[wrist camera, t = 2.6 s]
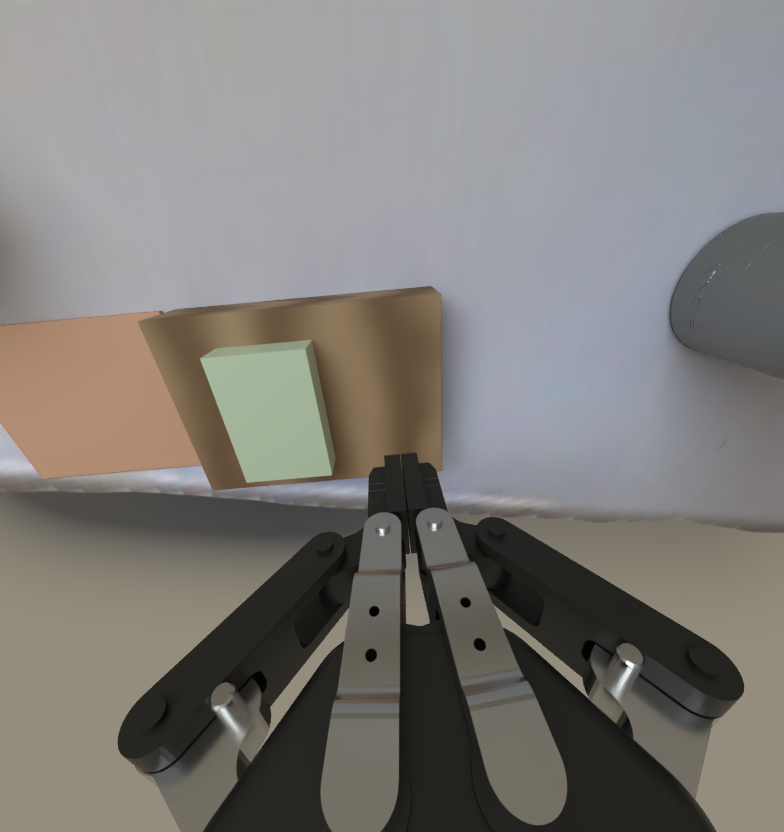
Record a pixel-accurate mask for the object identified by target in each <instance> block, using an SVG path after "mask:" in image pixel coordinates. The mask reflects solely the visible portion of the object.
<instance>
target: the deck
mask: <svg viewBox="0 0 784 832" xmlns="http://www.w3.org/2000/svg"><path fill="white" fill-rule="evenodd" d="M137 322H138V324H139V326H140V329H141V331H142V333H143V335H144V337H145V340H146V342H147V344H148V346H149V349H150V351H151V353H152V355H153V358H154V360H155V362H156V364H157V367H158V369H159V371H160V373H161V375H162V378H163V380H164V382H165V384H166V387H167V389H168V391H169V393H170V396H171V398H172V400H173V402H174V405H175V407H176V409H177V411H178V413H179V416H180V418H181V420H182V422H183V425H184V427H185V429H186V431H187V434H188V436H189V438H190V440H191V443H192V445H193V447H194V449H195V451H196V454H197V456H198V458H199V460H200V463H201V465H202V467H203V469H204V472H205V474H206V476H207V478H208V481H209V483H210V485H211V487H212V489H213V490H223V489H234V488H246V487H258V486H269V485H281V484H292V483H304V482H316V481H327V480H339V479H351V478H362V477H369V474H370V473H371V471H372V469H373V468H374V467H385V464H384V455H395V454H400V461H401V454H405V453H417V457H418V461H419V463H427V462H429V463H430V464H431V465H432V466H433V467H434V468H435V469H436V471H442V401H441V294H440V293H439V292H437V291H436V290H435V289H434V288H432V287H431V286H429V287H418V288H407V289H396V290H385V291H374V292H363V293H352V294H341V295H330V296H319V297H308V298H297V299H286V300H275V301H264V302H253V303H242V304H231V305H220V306H209V307H198V308H187V309H176V310H172V311H169V312H166V313H163V314H160V315H156V316H153V317H150V318H147V319H144V320H140V321H137ZM305 340H312V343H313V348H314V353H315V358H316V363H317V368H318V373H319V378H320V383H321V388H322V393H323V398H324V403H325V408H326V413H327V418H328V423H329V428H330V432H331V437H332V442H333V447H334V452H335V457H336V460H335V464H334V469H333V474H332V475H331V476H319V477H307V478H296V479H284V480H273V481H261V482H249V483H247V482H246V480H245V477H244V474H243V472H242V469H241V466H240V464H239V461H238V458H237V456H236V453H235V450H234V448H233V445H232V442H231V440H230V437H229V434H228V432H227V429H226V427H225V424H224V421H223V419H222V416H221V413H220V411H219V408H218V405H217V403H216V400H215V397H214V395H213V392H212V389H211V387H210V384H209V381H208V379H207V376H206V374H205V371H204V368H203V366H202V363H201V360H200V358H201V357H203V356H205V355H206V354H208V353H209V352H211V351H213V350H214V349H216V348H227V347H238V346H249V345H260V344H271V343H282V342H294V341H305ZM401 469H402V463H401Z"/></svg>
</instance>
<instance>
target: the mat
mask: <svg viewBox="0 0 784 832" xmlns="http://www.w3.org/2000/svg"><path fill="white" fill-rule="evenodd" d="M160 314H162V311H154V312H143V313H132V314H121V315H110V316H99V317H88V318H77V319H66V320H55V321H44V322H33V323H22V324H11V325H0V423H1V424H2V426H3V427H4V428H5V430H6V431H7V432H8V434H9V435H10V436H11V438H12V439H13V440H14V442H15V443H16V444H17V446H18V447H19V448H20V450H21V451H22V452H23V453H24V455H25V456H26V457H27V459H28V460H29V461H30V463H31V464H32V465H33V467H34V468H35V469H36V471H37V472H38V473H39V475H40V476H41V477H42V479H44V478H55V477H67V476H78V475H90V474H101V473H113V472H124V471H136V470H147V469H159V468H170V467H182V466H193V465H201V463H200V460H199V458H198V456H197V454H196V451H195V449H194V447H193V445H192V443H191V440H190V438H189V436H188V434H187V431H186V429H185V427H184V425H183V422H182V420H181V418H180V416H179V413H178V411H177V409H176V407H175V405H174V402H173V400H172V398H171V396H170V393H169V391H168V389H167V387H166V384H165V382H164V380H163V378H162V375H161V373H160V371H159V369H158V367H157V364H156V362H155V360H154V358H153V355H152V353H151V351H150V349H149V346H148V344H147V342H146V340H145V337H144V335H143V333H142V331H141V329H140V326H139V324H138V322H137V321H140V320H144V319H147V318H150V317H153V316H156V315H160Z"/></svg>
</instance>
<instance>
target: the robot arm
mask: <svg viewBox="0 0 784 832" xmlns="http://www.w3.org/2000/svg"><path fill="white" fill-rule="evenodd" d="M671 323H672V327H673V330H674V333H675V334H676V336H677V337H678V339H679V340H680V341H681V342H682V343H683V344H685V345H686V346H687V347H690V348H692V349H695V350H698V351H701V352H704V353H707V354H710V355H713V356H716V357H719V358H722V359H725V360H728V361H731V362H734V363H737V364H739V365H742V366H745V367H748V368H751V369H754V370H757V371H760V372H763V373H766V374H769V375H772V376H775V377H778V378H781V379H784V212H780V213H768V214H760V215H757V216H754V217H750V218H747V219H745V220H743V221H741V222H739V223H737V224H735V225H733V226H731V227H729V228H728V229H726V230H725V231H723V232H722V233H721V234H719V235H718V236H716V237H715V238H714V239H713V240H712V241H710V242H709V243H708V244H707V245H706V246H705V247H704V248H703V249H702V250H701V251H700V252H699V253H698V255H697V256H696V257H695V258H694V259H693V261H692V262H691V263H690V264H689V266H688V267H687V269H686V271H685V272H684V274H683V276H682V277H681V279H680V281H679V283H678V286H677V288H676V291H675V293H674V297H673V301H672V306H671ZM401 463H402V469H401ZM384 464H385V467H374V468H373V469H372V471H371V473H370V474H369V492H368V520H367V521H366V523H365V525H364V527H363V528H362V529H361V530H360V531H358V532H357V533H355V534H352V535H350V536H347V537H344V538H343V537H342V536H341V535H339V534H338V533H335V532H324V533H321V534H319V535H317V536H315V537H314V538H312V539H311V540H310V541H309V542H308V543H307V544H306V545H305V546H304V547H303V548H302V549H300V550H299V551H298V552H297V553H296V554H295V555H294V556H293V557H292V558H291V559H290V560H289V561H288V562H286V564H284V565H283V566H282V567H281V568H280V569H279V570H278V571H277V572H276V573H275V574H274V575H273V576H271V577H270V578H269V579H268V580H267V581H266V582H265V583H264V584H263V585H262V586H261V587H260V588H258V589H257V590H256V591H255V592H254V593H253V594H252V595H251V596H250V597H249V598H248V599H247V600H246V601H245V602H243V603H242V604H241V605H240V606H239V607H238V608H237V609H236V610H235V611H234V612H233V613H231V614H230V615H229V616H228V617H227V618H226V619H225V620H224V621H223V622H222V623H221V624H220V625H219V626H218V627H216V628H215V629H214V630H213V631H212V632H211V633H210V634H209V635H208V636H207V637H206V638H205V639H203V640H202V641H201V642H200V643H199V644H198V645H197V646H196V647H195V648H194V649H193V650H192V651H191V652H190V653H188V654H187V655H186V656H185V657H184V658H183V659H182V660H181V661H180V662H179V663H178V664H177V665H175V666H174V667H173V668H172V669H171V670H170V671H169V672H168V673H167V674H166V675H165V676H164V677H162V678H161V679H160V680H159V681H158V682H157V683H156V684H155V685H154V686H153V687H152V688H151V689H150V690H148V691H147V692H146V693H145V694H144V695H143V696H142V697H141V698H140V699H139V700H138V701H137V702H136V703H135V705H134V706H133V707H132V708H131V710H130V711H129V713H128V714H127V716H126V718H125V719H124V721H123V723H122V726H121V728H120V732H119V736H118V748H119V751H120V753H121V754H122V755H123V756H124V757H125V758H126V759H127V760H129V761H130V762H131V763H132V764H134V765H135V768H136V770H137V771H138V772H139V773H141V774H142V775H143V776H144V777H145V778H147V779H148V780H149V781H151V782H152V783H153V784H154V785H156V786H157V787H158V788H159V789H160V791H161V793H162V795H163V797H164V799H165V801H166V803H167V805H168V807H169V809H170V811H171V813H172V815H173V817H174V819H175V821H176V823H177V825H178V827H179V829H180V831H181V832H716V830H715V828H714V826H713V825H712V823H711V822H710V820H709V818H708V817H707V816H706V814H705V812H704V811H703V810H702V808H701V807H700V806H699V804H698V803H697V802H696V800H695V798H696V793H697V788H698V784H699V779H700V775H701V771H702V767H703V762H704V758H705V753H706V749H707V745H708V740H709V736H710V731H711V728H712V727H713V726H714V725H715V724H716V723H717V722H718V720H719V719H720V718H721V717H722V716H723V715H724V714H725V713H726V712H727V711H728V710H729V709H730V708H731V707H732V706H733V705H734V704H735V703H736V701H737V700H738V699H739V698H740V697H741V696H742V694H743V692H744V683H743V679H742V677H741V675H740V672H739V671H738V669H737V668H736V666H735V665H734V664H733V662H732V661H731V660H730V659H729V658H728V657H727V656H726V655H725V654H724V653H723V652H722V651H721V650H719V649H718V648H717V647H715V646H714V645H713V644H711V643H709V642H708V641H706V640H704V639H703V638H701V637H700V636H698V635H696V634H695V633H693V632H691V631H690V630H688V629H686V628H685V627H683V626H681V625H680V624H678V623H676V622H675V621H673V620H671V619H670V618H668V617H666V616H664V615H663V614H661V613H659V612H658V611H656V610H654V609H653V608H651V607H649V606H648V605H646V604H645V603H643V602H641V601H640V600H638V599H636V598H634V597H633V596H631V595H630V594H628V593H626V592H625V591H622V590H621V589H620V588H618V587H616V586H615V585H613V584H611V583H610V582H608V581H606V580H605V579H603V578H601V577H600V576H598V575H596V574H595V573H593V572H591V571H590V570H588V569H586V568H584V567H583V566H581V565H580V564H578V563H576V562H574V561H573V560H571V559H569V558H568V557H566V556H564V555H563V554H561V553H559V552H558V551H556V550H554V549H552V548H551V547H549V546H548V545H546V544H544V543H543V542H541V541H539V540H538V539H536V538H534V537H533V536H531V535H529V534H528V533H526V532H524V531H523V530H521V529H519V528H518V527H516V526H514V525H513V524H511V523H509V522H508V521H506V520H504V519H501V518H497V517H489V518H485V519H483V520H481V521H480V522H479V523H478V525H471V524H466V523H462V522H459V521H457V520H456V519H454V518H453V517H451V515H450V514H449V513H448V511H447V508H446V504H445V501H444V497H443V493H442V490H441V486H440V483H439V479H438V475H437V472H436V469H435V468H434V467H433V466H432V465H431V464H430V463H429V462H427V463H419V461H418V457H417V453H405V454H401V461H400V454H395V455H384ZM402 476H403V477H402ZM408 529H409V535H408ZM409 537H410V545H411V553H417V556H418V568H419V575H420V579H421V584H422V589H423V593H424V597H425V602H426V606H427V611H428V615H429V620H430V623H429V624H427V625H424V626H415V625H409V624H406V589H405V569H406V556H405V554H409V553H410V549H409ZM493 604H494V605H495V606H496V607H497V608H498V609H500V610H501V611H502V612H503V613H505V614H506V615H507V616H508V617H509V618H511V619H512V620H513V621H514V622H515V623H517V624H518V625H519V626H520V627H522V628H523V629H524V630H525V631H526V632H528V633H529V634H530V635H531V636H532V637H534V638H535V639H536V640H538V642H540V643H541V644H542V645H543V646H545V647H546V648H547V649H548V650H550V651H551V652H552V653H553V654H554V655H555V656H557V657H558V658H559V659H560V660H562V661H563V662H564V663H565V664H566V665H568V666H569V667H570V668H571V669H573V670H574V671H575V672H576V673H577V674H579V675H580V676H581V677H582V678H583V685H584V687H585V691H586V693H587V695H588V697H589V698H590V700H591V701H590V700H589V699H588V698H587V697H586V696H585V695H584V694H583V693H581V692H580V691H579V690H578V689H577V688H576V687H575V686H574V685H573V684H571V683H570V682H569V681H568V680H567V679H566V678H565V677H564V676H562V675H561V674H560V673H559V672H558V671H557V670H556V669H555V668H554V667H552V666H551V665H550V664H549V663H548V662H547V661H546V660H545V659H543V658H542V657H541V656H540V655H539V654H538V653H537V652H536V651H534V649H532V648H531V647H530V646H529V645H528V644H527V643H526V642H524V641H523V640H522V639H521V638H519V637H518V636H517V635H515V634H514V633H512V632H510V631H509V630H507V629H505V628H503V627H502V625H501V622H500V620H499V618H498V615H497V613H496V610H495V608H494V605H493ZM348 608H349V613H348V621H347V627H346V634H345V641H343V642H342V643H341V644H339V645H338V646H337V647H336V648H334V649H333V650H332V651H331V652H330V653H329V654H328V655H327V657H326V658H325V659H324V660H323V662H322V663H321V664H320V666H319V667H318V668H317V670H316V672H315V673H314V674H313V676H312V677H311V678H310V680H309V681H308V683H307V684H306V685H305V687H304V688H303V690H302V691H301V693H300V694H299V696H298V697H297V698H296V700H295V701H294V702H293V704H292V705H291V707H290V708H289V710H288V711H287V712H286V714H285V715H284V716H283V718H282V719H281V721H280V722H279V724H278V725H277V726H276V728H275V729H274V731H273V732H272V733H271V735H270V736H269V738H268V739H267V741H266V742H265V743H264V745H263V746H262V748H261V749H260V750H259V748H260V746H261V745H262V743H263V742H264V739H265V738H266V736H267V733H268V731H269V728H270V723H271V709H270V707H271V705H272V704H273V703H274V702H275V700H276V699H277V698H278V696H279V695H280V694H281V693H282V691H283V690H284V689H285V688H286V686H287V685H288V684H289V683H290V681H291V680H292V679H293V677H294V676H295V675H296V673H297V672H298V671H299V670H300V669H301V667H302V666H303V665H304V664H305V662H306V661H307V660H308V658H309V657H310V656H311V655H312V653H313V652H314V651H315V650H316V648H317V647H318V646H319V645H320V643H321V642H322V641H323V640H324V638H325V637H326V636H327V635H328V633H329V632H330V631H331V629H332V628H333V627H334V626H335V624H336V623H337V622H338V621H339V619H340V618H341V617H342V616H343V614H344V613H345V612H346V610H347V609H348ZM258 750H259V752H258ZM257 752H258V753H257ZM256 754H257V755H256Z"/></svg>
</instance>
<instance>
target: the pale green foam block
mask: <svg viewBox="0 0 784 832" xmlns="http://www.w3.org/2000/svg"><path fill="white" fill-rule="evenodd" d="M200 360H201V363H202V366H203V368H204V371H205V374H206V376H207V379H208V381H209V384H210V387H211V389H212V392H213V395H214V397H215V400H216V403H217V405H218V408H219V411H220V413H221V416H222V419H223V421H224V424H225V427H226V429H227V432H228V434H229V437H230V440H231V442H232V445H233V448H234V450H235V453H236V456H237V458H238V461H239V464H240V466H241V469H242V472H243V474H244V477H245V480H246V482H247V483H249V482H261V481H273V480H284V479H296V478H307V477H319V476H331V475H332V474H333V469H334V464H335V460H336V457H335V452H334V447H333V442H332V437H331V432H330V428H329V423H328V418H327V413H326V408H325V403H324V398H323V393H322V388H321V383H320V378H319V373H318V368H317V363H316V358H315V353H314V348H313V343H312V340H305V341H294V342H282V343H271V344H260V345H249V346H238V347H227V348H216V349H214V350H213V351H211V352H209V353H208V354H206V355H205V356H203V357H201V358H200Z"/></svg>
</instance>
